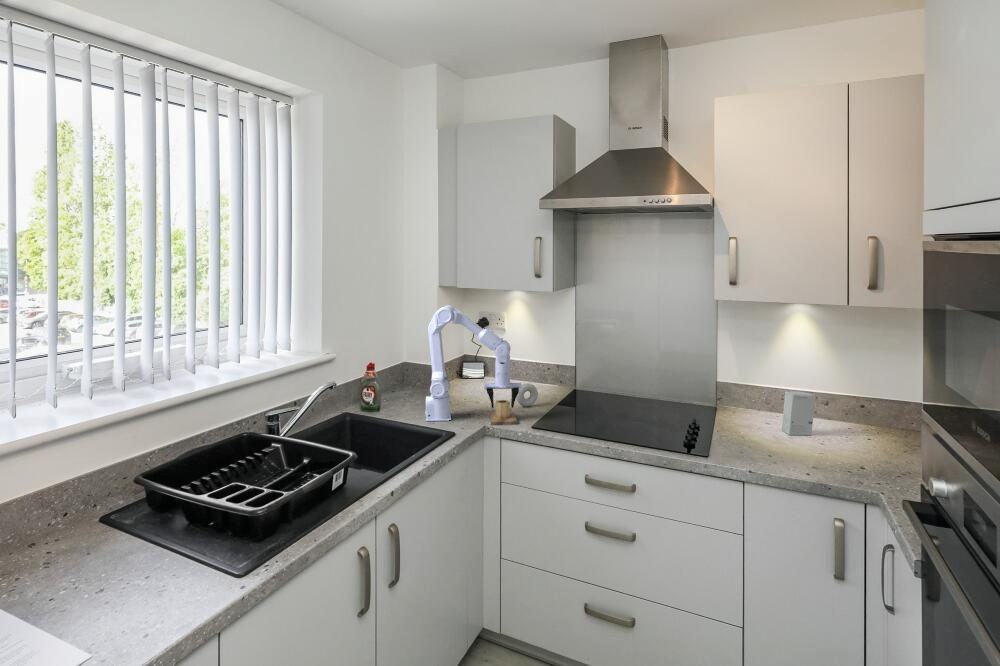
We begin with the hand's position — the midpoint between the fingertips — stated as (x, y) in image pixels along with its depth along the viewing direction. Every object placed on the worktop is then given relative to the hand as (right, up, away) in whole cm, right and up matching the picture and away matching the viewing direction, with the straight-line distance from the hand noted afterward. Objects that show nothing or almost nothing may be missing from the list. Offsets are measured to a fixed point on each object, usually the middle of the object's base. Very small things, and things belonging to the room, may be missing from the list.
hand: (502, 407), depth 216 cm
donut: (+10, -3, +20) cm, 22 cm away
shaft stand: (0, -5, +1) cm, 5 cm away
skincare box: (+106, -8, -15) cm, 107 cm away
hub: (0, -4, 0) cm, 4 cm away
